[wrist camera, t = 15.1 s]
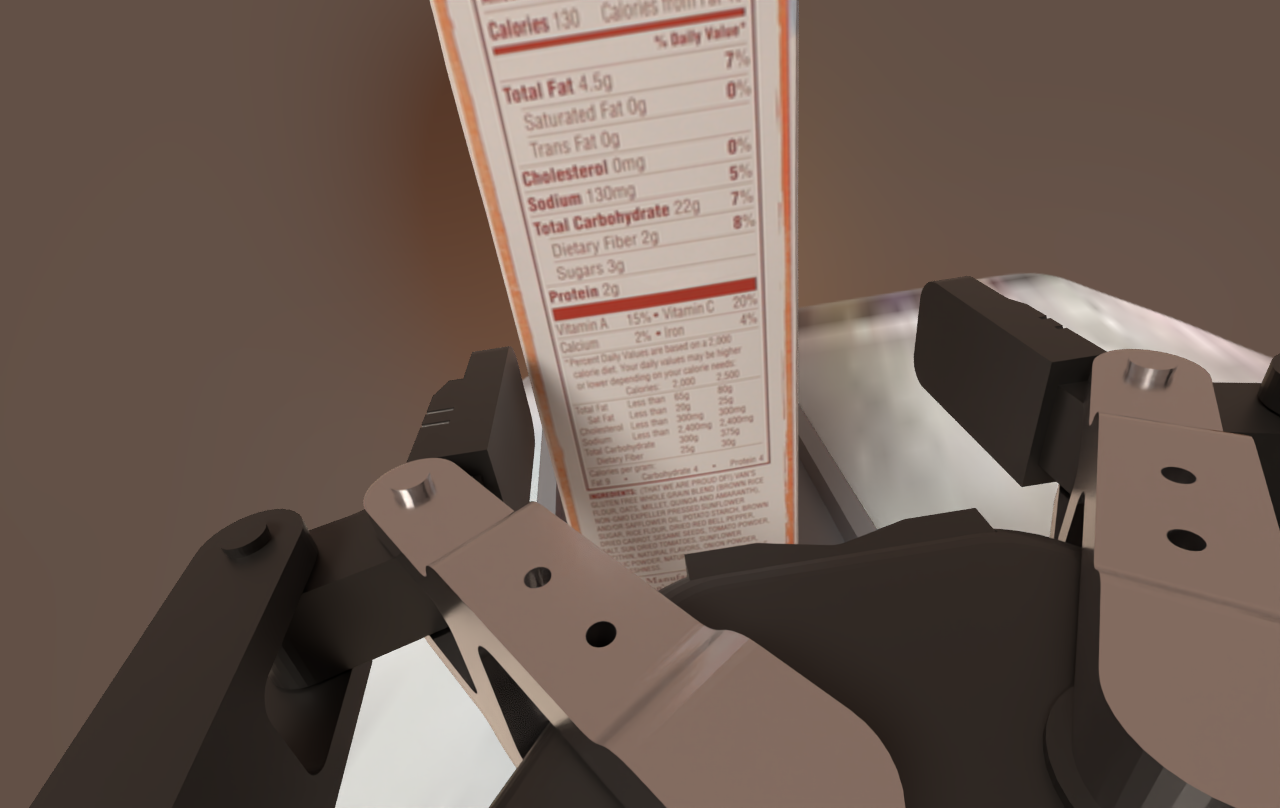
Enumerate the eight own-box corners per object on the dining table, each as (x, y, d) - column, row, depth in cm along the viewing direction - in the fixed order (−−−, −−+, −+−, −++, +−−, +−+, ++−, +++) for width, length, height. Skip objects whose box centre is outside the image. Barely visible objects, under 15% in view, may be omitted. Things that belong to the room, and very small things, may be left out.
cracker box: (598, 457, 31) (494, -73, 20) (720, 440, 30) (682, -101, 20) (603, 732, 18) (344, -240, 8) (805, 704, 18) (824, -311, 8)
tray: (773, 390, 35) (772, 362, 34) (960, 716, 18) (969, 678, 17) (551, 425, 35) (544, 397, 34) (532, 788, 18) (518, 752, 17)
